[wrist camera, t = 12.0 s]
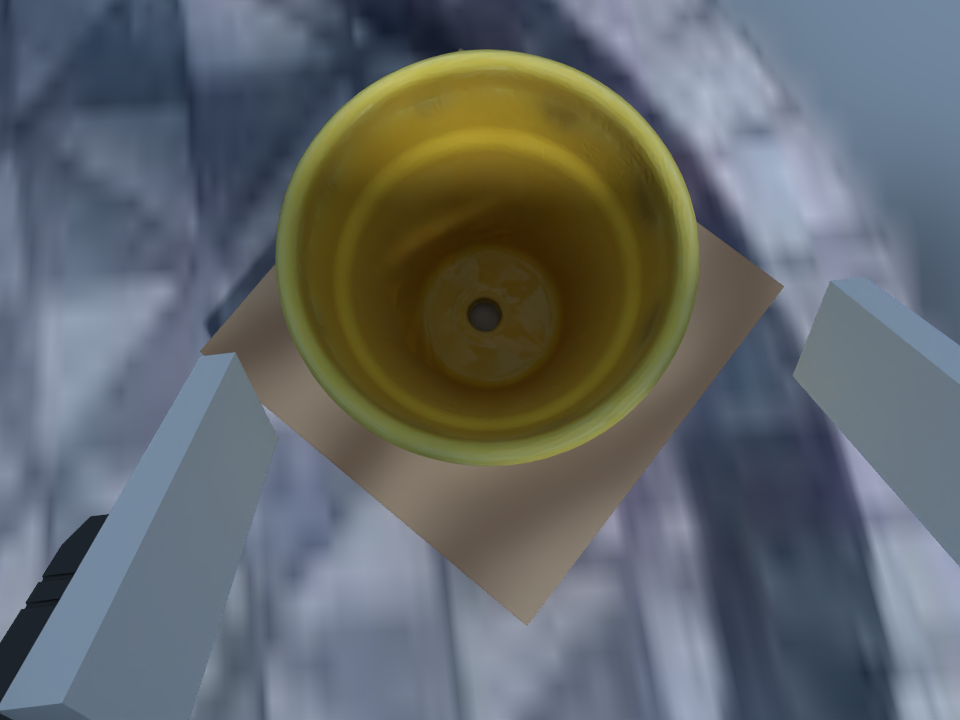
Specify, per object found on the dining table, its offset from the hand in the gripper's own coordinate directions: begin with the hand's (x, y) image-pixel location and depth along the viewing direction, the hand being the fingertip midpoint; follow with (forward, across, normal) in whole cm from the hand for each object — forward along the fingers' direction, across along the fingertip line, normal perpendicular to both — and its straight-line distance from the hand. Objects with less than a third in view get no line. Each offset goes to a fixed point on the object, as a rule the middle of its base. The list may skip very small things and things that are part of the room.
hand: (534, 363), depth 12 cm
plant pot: (+9, -1, -5) cm, 10 cm away
